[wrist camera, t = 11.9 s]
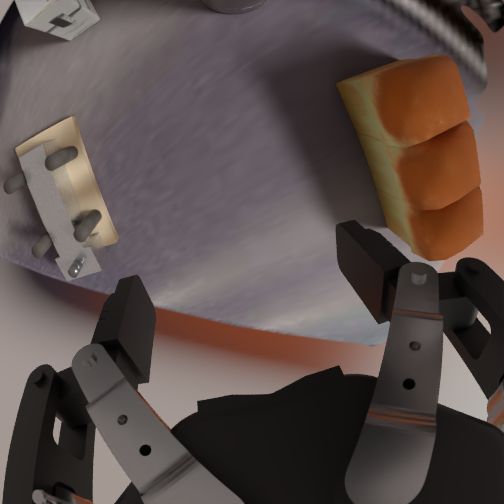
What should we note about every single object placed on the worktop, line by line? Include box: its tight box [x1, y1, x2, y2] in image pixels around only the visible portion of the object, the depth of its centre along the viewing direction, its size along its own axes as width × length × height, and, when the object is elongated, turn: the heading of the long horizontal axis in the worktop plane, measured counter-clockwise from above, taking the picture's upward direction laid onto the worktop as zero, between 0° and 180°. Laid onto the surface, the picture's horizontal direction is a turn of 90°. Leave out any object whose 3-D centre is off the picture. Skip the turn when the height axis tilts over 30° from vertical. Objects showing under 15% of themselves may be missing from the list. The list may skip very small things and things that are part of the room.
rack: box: [3, 116, 119, 259], centre depth 30 cm, size 18×10×7 cm, turn 13°
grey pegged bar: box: [19, 139, 109, 281], centre depth 30 cm, size 18×6×6 cm, turn 13°
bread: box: [335, 55, 483, 261], centre depth 31 cm, size 25×12×15 cm, turn 28°
